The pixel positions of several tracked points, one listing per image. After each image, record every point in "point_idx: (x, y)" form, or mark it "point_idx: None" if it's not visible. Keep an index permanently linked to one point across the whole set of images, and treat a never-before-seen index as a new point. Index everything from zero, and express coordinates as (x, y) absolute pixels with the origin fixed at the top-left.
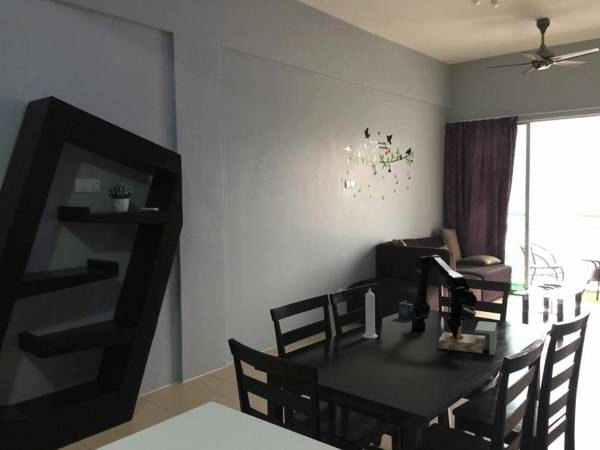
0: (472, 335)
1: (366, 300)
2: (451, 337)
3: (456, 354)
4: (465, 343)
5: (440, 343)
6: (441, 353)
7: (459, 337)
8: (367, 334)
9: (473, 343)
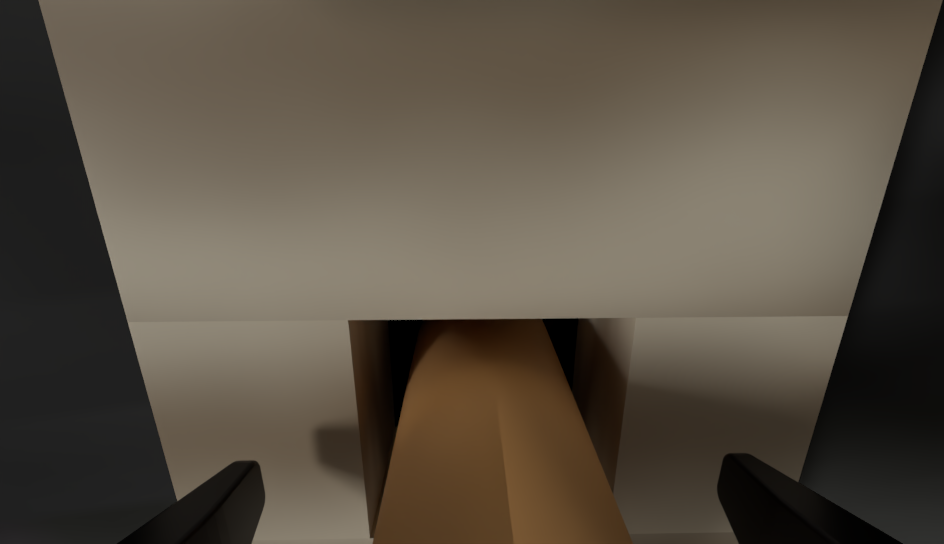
0: (144, 123)
1: None
2: (379, 500)
3: (923, 294)
4: (859, 215)
5: None
6: (890, 466)
7: (562, 394)
8: None
9: (934, 6)
